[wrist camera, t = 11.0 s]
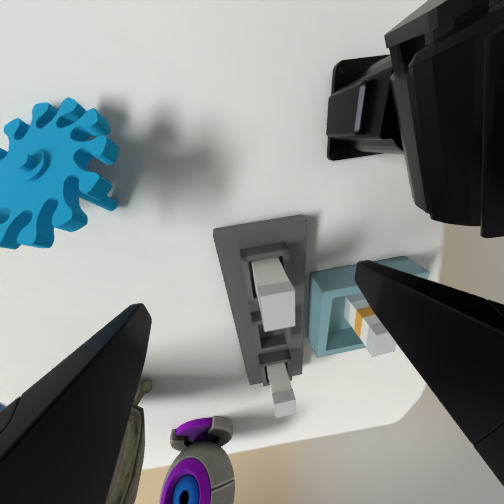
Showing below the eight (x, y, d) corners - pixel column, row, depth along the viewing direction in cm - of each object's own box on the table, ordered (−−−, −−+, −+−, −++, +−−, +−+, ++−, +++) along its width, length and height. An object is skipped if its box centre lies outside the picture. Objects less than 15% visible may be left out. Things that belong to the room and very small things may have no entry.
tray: (404, 255, 24) (430, 271, 21) (382, 321, 31) (399, 340, 28) (310, 273, 24) (323, 291, 21) (307, 336, 30) (316, 357, 27)
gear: (98, 66, 11) (93, 220, 9) (161, 142, 17) (168, 248, 15) (-44, 121, 13) (-81, 266, 10) (57, 174, 19) (49, 276, 16)
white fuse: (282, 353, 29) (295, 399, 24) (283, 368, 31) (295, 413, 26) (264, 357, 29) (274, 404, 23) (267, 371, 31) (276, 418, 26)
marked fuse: (364, 291, 25) (401, 329, 20) (362, 311, 28) (394, 351, 22) (345, 296, 25) (376, 335, 20) (344, 316, 27) (372, 356, 22)
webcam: (218, 410, 38) (216, 546, 25) (240, 430, 45) (248, 547, 32) (159, 429, 39) (128, 571, 26) (189, 447, 45) (176, 567, 32)
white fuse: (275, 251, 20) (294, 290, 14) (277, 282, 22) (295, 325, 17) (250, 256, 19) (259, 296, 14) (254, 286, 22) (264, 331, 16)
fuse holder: (300, 214, 20) (312, 225, 17) (298, 365, 34) (305, 383, 31) (213, 228, 19) (212, 242, 17) (248, 375, 33) (251, 395, 31)
